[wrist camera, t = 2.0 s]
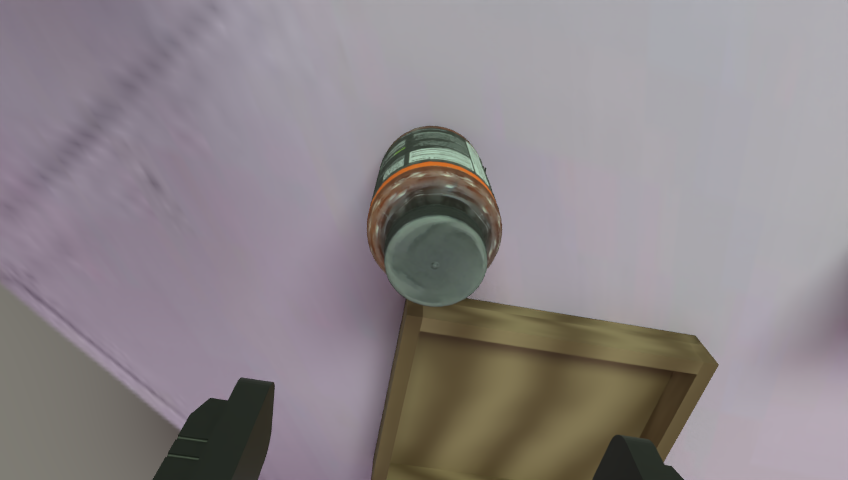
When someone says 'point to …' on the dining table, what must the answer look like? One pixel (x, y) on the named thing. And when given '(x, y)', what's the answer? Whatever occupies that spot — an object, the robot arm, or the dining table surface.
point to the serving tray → (529, 392)
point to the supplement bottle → (433, 217)
